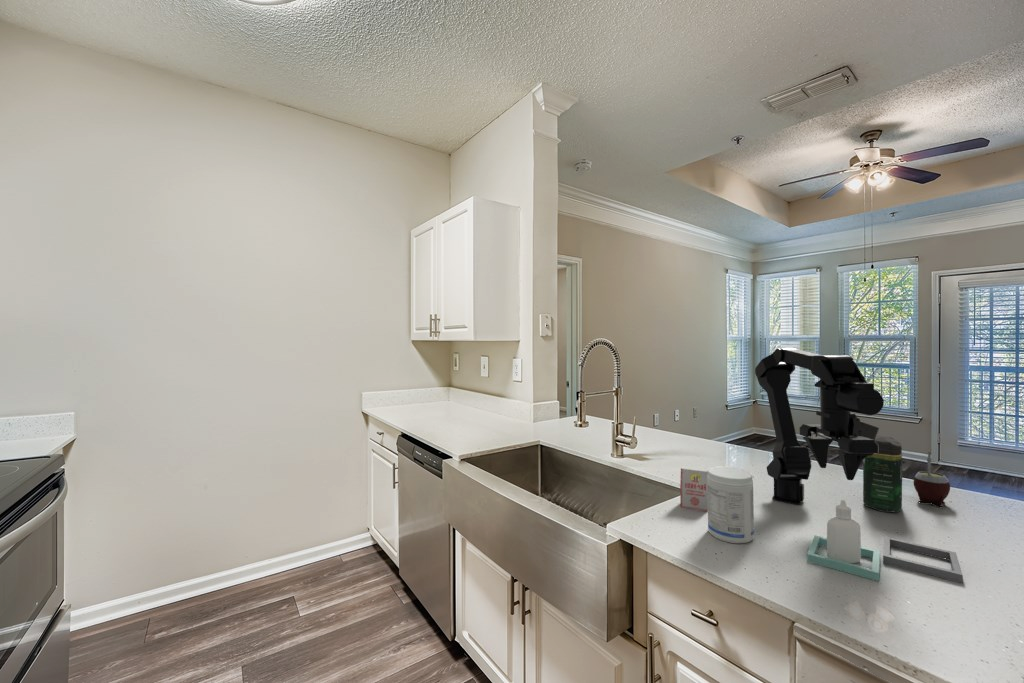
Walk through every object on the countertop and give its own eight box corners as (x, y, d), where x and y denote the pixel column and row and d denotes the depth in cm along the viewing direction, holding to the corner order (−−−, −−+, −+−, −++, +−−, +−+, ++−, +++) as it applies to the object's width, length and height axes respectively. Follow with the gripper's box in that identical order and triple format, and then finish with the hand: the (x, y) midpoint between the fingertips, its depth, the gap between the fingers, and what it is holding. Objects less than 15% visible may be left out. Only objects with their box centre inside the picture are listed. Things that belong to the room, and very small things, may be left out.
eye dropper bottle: (825, 551, 90) (824, 495, 90) (859, 558, 87) (858, 499, 87) (828, 560, 86) (827, 501, 86) (863, 568, 84) (863, 507, 84)
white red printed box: (681, 502, 118) (681, 466, 118) (708, 506, 115) (708, 469, 115) (680, 507, 115) (680, 470, 115) (708, 511, 112) (707, 473, 112)
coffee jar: (902, 516, 107) (901, 442, 107) (861, 508, 113) (860, 438, 113) (903, 505, 114) (902, 436, 114) (865, 498, 120) (864, 432, 120)
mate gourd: (934, 498, 119) (933, 445, 119) (961, 510, 111) (960, 452, 111) (905, 498, 119) (904, 444, 119) (929, 509, 112) (929, 452, 112)
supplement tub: (726, 523, 104) (725, 463, 104) (763, 539, 96) (763, 474, 96) (698, 531, 100) (697, 469, 100) (735, 549, 92) (734, 480, 92)
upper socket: (883, 562, 85) (883, 555, 85) (883, 543, 94) (883, 536, 94) (962, 583, 78) (962, 575, 78) (955, 559, 86) (955, 552, 86)
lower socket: (807, 561, 86) (807, 553, 86) (814, 541, 94) (814, 535, 94) (878, 581, 79) (878, 573, 79) (880, 558, 87) (879, 550, 87)
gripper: (904, 414, 91) (905, 487, 91) (842, 402, 110) (843, 462, 110) (850, 414, 92) (851, 487, 92) (797, 402, 111) (798, 462, 111)
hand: (836, 473), depth 101 cm, fingers open, 9 cm apart
